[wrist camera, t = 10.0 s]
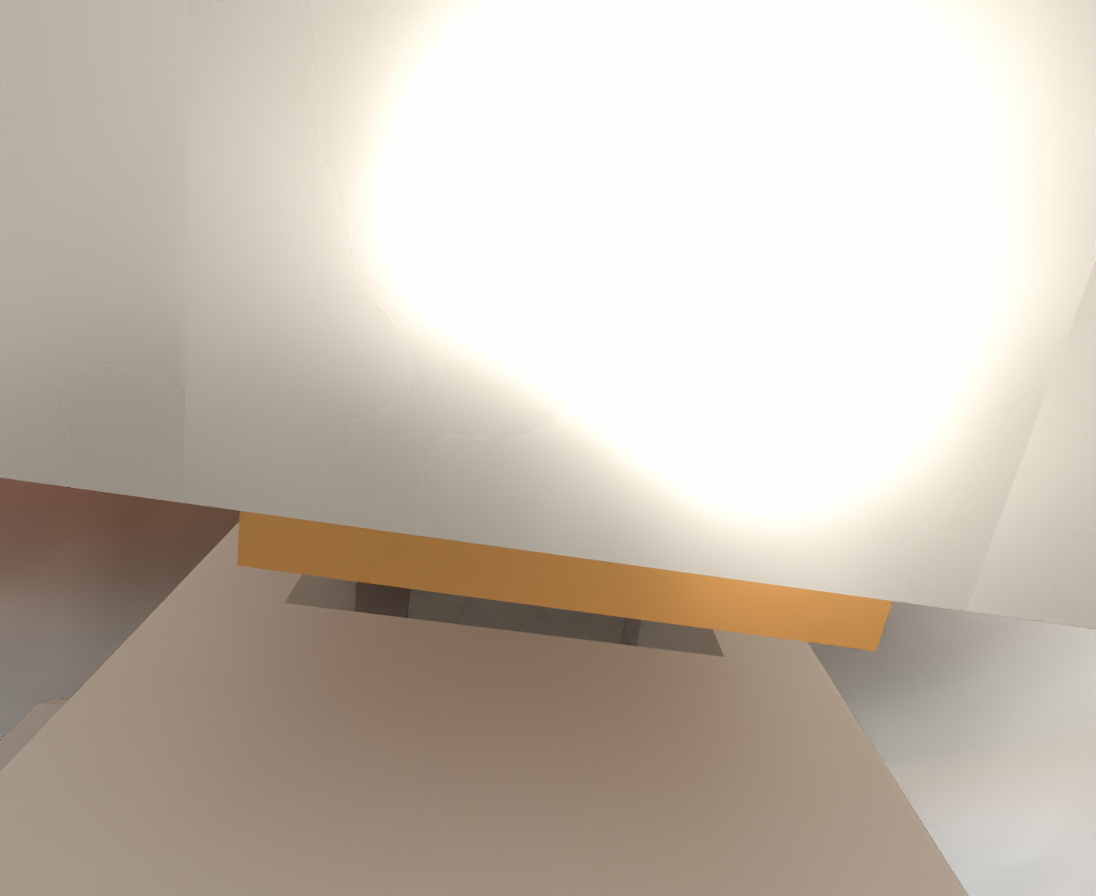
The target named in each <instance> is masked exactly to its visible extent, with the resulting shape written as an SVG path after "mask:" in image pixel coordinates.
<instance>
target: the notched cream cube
mask: <svg viewBox="0 0 1096 896" xmlns="http://www.w3.org/2000/svg"><path fill="white" fill-rule="evenodd" d="M238 540H239V522H238V523H237V524H236V525H235V526H234V527H233V528H232V529H231V530H230V532H229V533H228V534H227V535H226V536H225V537H224V538H223V539H222V540H221V541H220V542H219V543H218V544H217V545H216V546H215V547H214V548H213V549H212V550H211V551H210V552H209V554H208V555H207V556H206V557H205V558H204V559H203V560H202V561H201V562H200V563H199V564H198V565H197V566H196V567H195V568H194V569H193V570H192V571H191V572H190V573H189V574H188V576H187V577H186V578H185V579H184V580H183V581H182V582H181V583H180V584H179V585H178V586H177V587H176V588H175V589H174V590H173V591H172V592H171V593H170V594H169V595H168V596H167V598H166V599H165V600H164V601H163V602H162V603H161V604H160V605H159V606H158V607H157V608H156V609H155V610H154V611H153V612H152V613H151V614H150V615H149V616H148V617H147V618H146V620H145V621H144V622H143V623H142V624H141V625H140V626H139V627H138V628H137V629H136V630H135V631H134V632H133V633H132V634H131V635H130V636H129V637H128V638H127V639H126V640H125V642H124V643H123V644H122V645H121V646H120V647H119V648H118V649H117V650H116V651H115V652H114V653H113V654H112V655H111V656H110V657H109V658H108V659H107V660H106V661H105V662H104V664H103V665H102V666H101V667H100V668H99V669H98V670H97V671H96V672H95V673H94V674H93V675H92V676H91V677H90V678H89V679H88V680H87V681H86V682H85V683H84V684H83V686H82V687H81V688H80V689H79V690H78V691H77V692H76V693H75V694H74V695H73V696H72V697H71V698H70V699H69V700H68V701H67V702H66V703H65V704H64V705H63V706H62V708H61V709H60V710H59V711H58V712H57V713H56V714H55V715H54V716H53V717H52V718H51V719H50V720H49V721H48V722H47V723H46V724H45V725H44V726H43V727H42V728H41V730H40V731H39V732H38V733H37V734H36V735H35V736H34V737H33V738H32V739H31V740H30V741H29V742H28V743H27V744H26V745H25V746H24V747H23V748H22V749H21V750H20V752H19V753H18V754H17V755H16V756H15V757H14V758H13V759H12V760H11V761H10V762H9V763H8V764H7V765H6V766H5V767H4V768H3V769H2V770H1V771H0V896H968V894H967V893H966V891H965V890H964V888H963V886H962V885H961V883H960V882H959V880H958V879H957V877H956V875H955V874H954V872H953V871H952V869H951V868H950V866H949V864H948V863H947V861H946V860H945V858H944V857H943V855H942V853H941V852H940V850H939V849H938V847H937V845H936V844H935V842H934V841H933V839H932V838H931V836H930V834H929V833H928V831H927V830H926V828H925V827H924V825H923V823H922V822H921V820H920V819H919V817H918V816H917V814H916V812H915V811H914V809H913V808H912V806H911V804H910V803H909V801H908V800H907V798H906V797H905V795H904V793H903V792H902V790H901V789H900V787H899V786H898V784H897V782H896V781H895V779H894V778H893V776H892V774H891V773H890V771H889V770H888V768H887V767H886V765H885V763H884V762H883V760H882V759H881V757H880V756H879V754H878V752H877V751H876V749H875V748H874V746H873V745H872V743H871V741H870V740H869V738H868V737H867V735H866V733H865V732H864V730H863V729H862V727H861V726H860V724H859V722H858V721H857V719H856V718H855V716H854V715H853V713H852V711H851V710H850V708H849V707H848V705H847V704H846V702H845V700H844V699H843V697H842V696H841V694H840V692H839V691H838V689H837V688H836V686H835V685H834V683H833V681H832V680H831V678H830V677H829V675H828V674H827V672H826V670H825V669H824V667H823V666H822V664H821V662H820V661H819V659H818V658H817V656H816V655H815V653H814V651H813V650H812V648H811V647H810V645H809V644H808V642H804V641H796V640H789V639H781V638H774V637H766V636H759V635H751V634H744V633H736V632H729V631H722V630H714V629H707V628H699V627H692V626H684V625H677V624H669V623H662V622H654V621H647V620H642V621H641V626H640V631H639V635H638V640H637V645H636V646H631V645H623V644H615V643H607V642H599V641H591V640H583V639H574V638H566V637H558V636H550V635H542V634H534V633H525V632H517V631H509V630H501V629H493V628H485V627H477V626H468V625H460V624H452V623H444V622H436V621H428V620H420V619H411V618H403V617H395V616H387V615H379V614H371V613H363V612H355V602H356V590H357V582H356V581H348V580H341V579H334V578H326V577H319V576H311V575H304V574H296V573H289V572H281V571H274V570H266V569H259V568H251V567H244V566H238Z"/></svg>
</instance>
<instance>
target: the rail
mask: <svg viewBox="0 0 1096 896" xmlns="http://www.w3.org/2000/svg"><path fill="white" fill-rule="evenodd" d="M0 478H6V479H14V480H21V481H28V482H35V483H42V484H50V485H57V486H64V487H71V488H79V489H86V490H93V491H100V492H108V493H115V494H122V495H129V496H136V497H144V498H151V499H158V500H165V501H173V502H180V503H187V504H194V505H201V506H209V507H216V508H223V509H230V510H238V511H239V540H238V566H244V567H251V568H259V569H266V570H274V571H281V572H289V573H296V574H304V575H311V576H319V577H326V578H334V579H341V580H348V581H356V582H363V583H371V584H378V585H386V586H393V587H401V588H408V589H410V595H409V604H408V612H407V618H411V619H420V620H428V621H436V622H444V623H452V624H460V625H468V626H477V627H485V628H493V629H501V630H509V631H517V632H525V633H534V634H542V635H550V636H558V637H566V638H574V639H583V640H591V641H599V642H607V643H615V644H621V640H622V635H623V630H624V626H625V621H626V618H632V619H639V620H647V621H654V622H662V623H669V624H677V625H684V626H692V627H699V628H707V629H714V630H722V631H729V632H736V633H744V634H751V635H759V636H766V637H774V638H781V639H789V640H796V641H804V642H811V643H819V644H826V645H833V646H841V647H848V648H856V649H863V650H871V651H877V648H878V645H879V642H880V639H881V636H882V633H883V630H884V627H885V624H886V621H887V618H888V615H889V612H890V609H891V606H892V603H893V601H895V602H903V603H910V604H917V605H924V606H931V607H939V608H946V609H953V610H960V611H968V612H975V613H982V614H989V615H996V616H1004V617H1011V618H1018V619H1025V620H1033V621H1040V622H1047V623H1054V624H1062V625H1069V626H1076V627H1083V628H1090V629H1096V0H0Z"/></svg>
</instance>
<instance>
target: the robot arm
mask: <svg viewBox="0 0 1096 896" xmlns="http://www.w3.org/2000/svg"><path fill="white" fill-rule="evenodd" d="M67 701H68V700H65V699H57V698H52V699H50V700H47V701H44V702H42V703H39V704H38V705H37V706H36V707H35V708H34V709H32V710H31V711H30V712H29V713H28V714H27V715H26V716H25V717H24V718H23V719H22V720H21V721H20V722H19V723H18V724H17V725H16V726H15V727H14V728H13V729H12V730H11V731H10V732H9V733H8V734H7V735H6V736H5V737H4V738H3V739H2V740H1V741H0V771H1V770H2V769H3V768H4V767H5V766H6V765H7V764H8V763H9V762H10V761H11V760H12V759H13V758H14V757H15V756H16V755H17V754H18V753H19V752H20V750H21V749H22V748H23V747H24V746H25V745H26V744H27V743H28V742H29V741H30V740H31V739H32V738H33V737H34V736H35V735H36V734H37V733H38V732H39V731H40V730H41V728H42V727H43V726H44V725H45V724H46V723H47V722H48V721H49V720H50V719H51V718H52V717H53V716H54V715H55V714H56V713H57V712H58V711H59V710H60V709H61V708H62V706H63V705H64V704H65V703H66V702H67Z"/></svg>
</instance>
